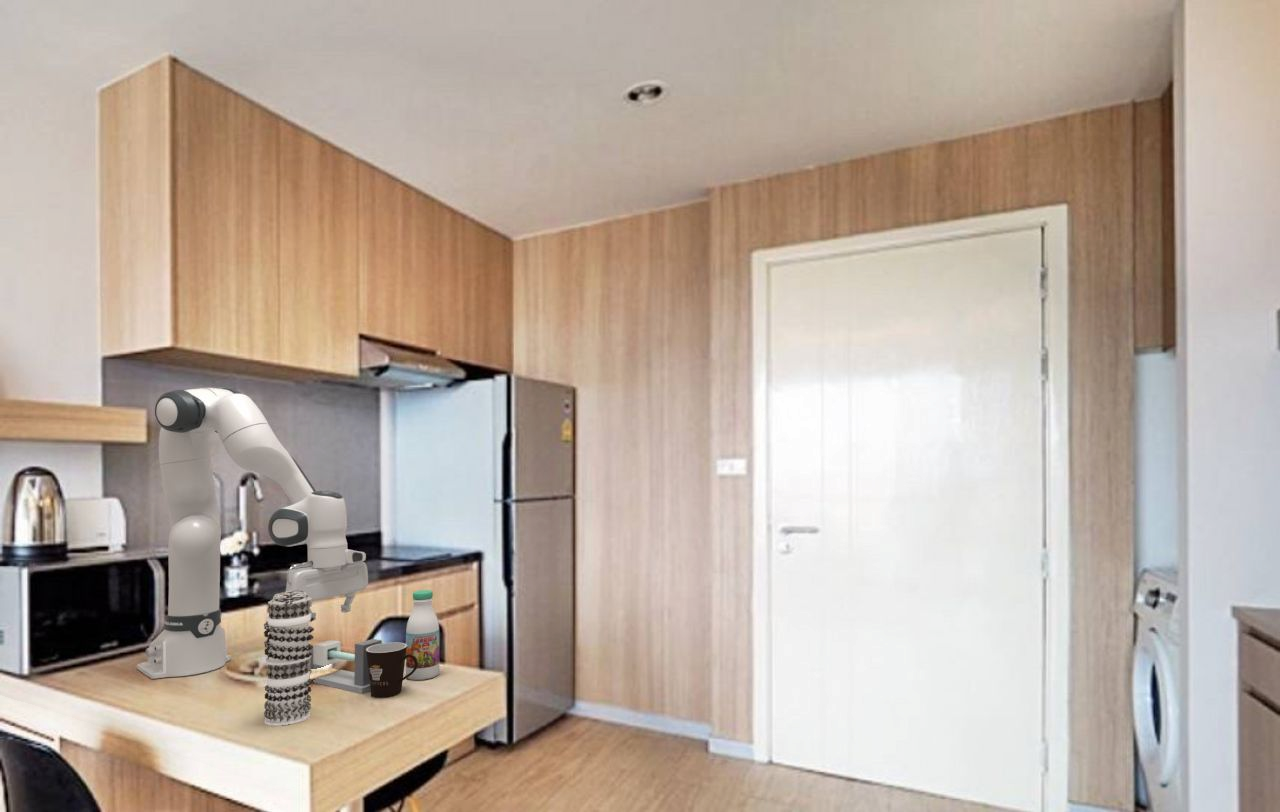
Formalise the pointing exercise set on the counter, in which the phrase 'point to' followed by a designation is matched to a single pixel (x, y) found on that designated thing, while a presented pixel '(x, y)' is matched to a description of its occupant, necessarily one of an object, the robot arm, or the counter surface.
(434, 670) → the milk bottle
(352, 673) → the grey rod holder
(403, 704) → the counter surface
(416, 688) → the counter surface
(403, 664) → the coffee mug
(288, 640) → the decorative candle
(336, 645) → the marker sleeve
